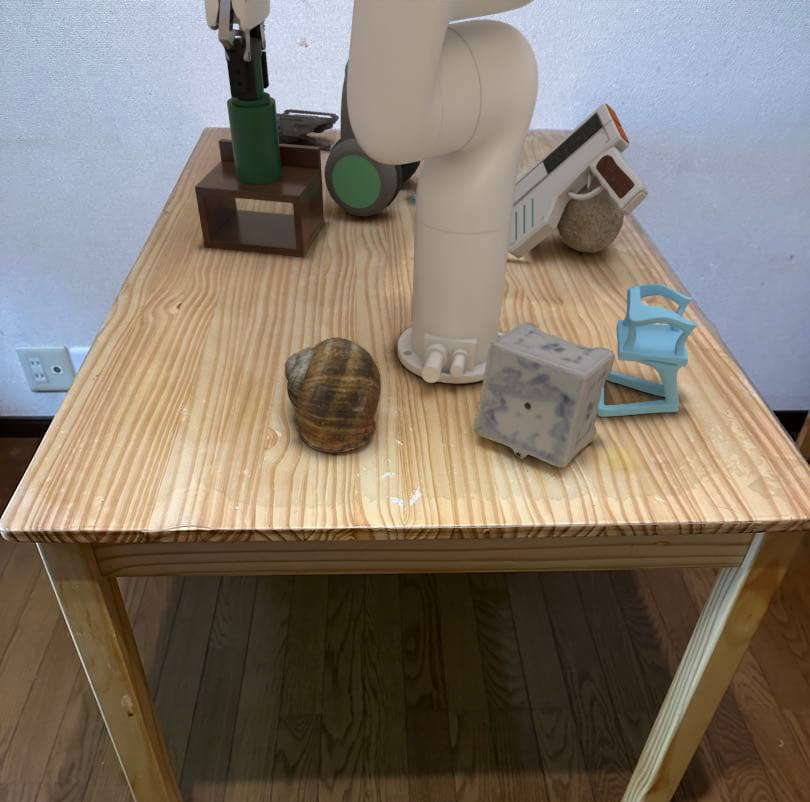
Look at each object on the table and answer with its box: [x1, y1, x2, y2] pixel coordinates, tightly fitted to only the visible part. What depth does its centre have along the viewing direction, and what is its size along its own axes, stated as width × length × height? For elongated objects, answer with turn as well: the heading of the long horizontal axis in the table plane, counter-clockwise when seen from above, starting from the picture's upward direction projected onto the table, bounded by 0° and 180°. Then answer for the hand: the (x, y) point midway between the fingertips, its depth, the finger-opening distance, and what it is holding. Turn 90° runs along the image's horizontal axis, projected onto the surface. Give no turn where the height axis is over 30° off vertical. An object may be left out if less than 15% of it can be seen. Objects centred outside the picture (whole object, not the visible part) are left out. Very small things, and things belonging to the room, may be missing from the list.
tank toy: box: [276, 108, 340, 150], centre depth 136 cm, size 12×10×5 cm
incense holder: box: [473, 321, 616, 468], centre depth 73 cm, size 10×8×10 cm
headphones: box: [324, 58, 422, 217], centre depth 113 cm, size 19×11×20 cm, turn 164°
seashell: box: [284, 336, 382, 453], centre depth 76 cm, size 11×9×8 cm
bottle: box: [226, 36, 282, 184], centre depth 99 cm, size 6×6×16 cm
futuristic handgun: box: [508, 102, 649, 259], centre depth 100 cm, size 3×20×15 cm
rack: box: [194, 138, 325, 258], centre depth 106 cm, size 11×14×10 cm
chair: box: [596, 283, 698, 418], centre depth 78 cm, size 8×8×12 cm
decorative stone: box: [557, 176, 625, 254], centre depth 104 cm, size 10×8×10 cm
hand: (250, 90), depth 97 cm, fingers open, 3 cm apart
